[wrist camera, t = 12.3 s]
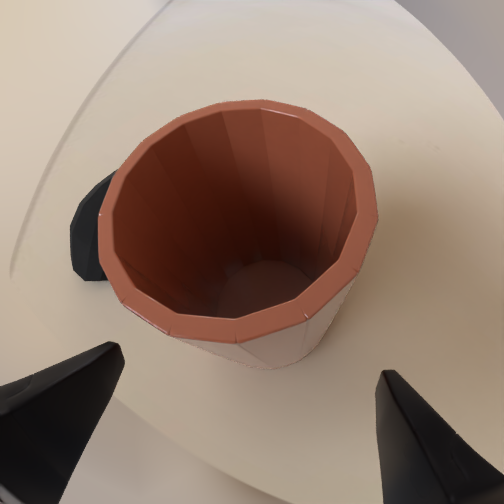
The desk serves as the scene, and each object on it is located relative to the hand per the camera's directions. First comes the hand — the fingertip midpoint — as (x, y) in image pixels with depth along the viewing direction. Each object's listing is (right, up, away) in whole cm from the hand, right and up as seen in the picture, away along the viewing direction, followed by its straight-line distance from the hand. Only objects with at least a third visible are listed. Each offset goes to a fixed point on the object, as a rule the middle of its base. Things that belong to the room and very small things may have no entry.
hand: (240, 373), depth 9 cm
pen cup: (+1, 0, +9) cm, 9 cm away
